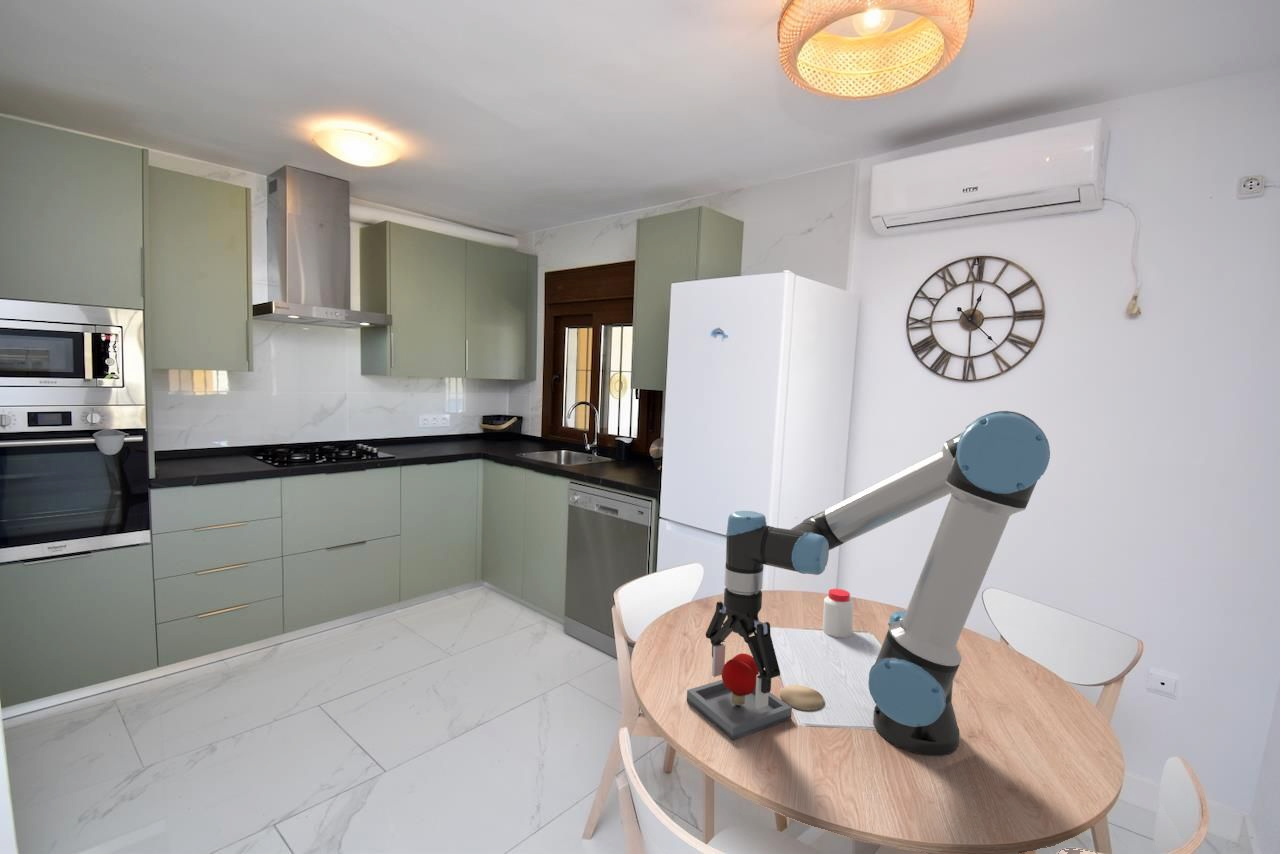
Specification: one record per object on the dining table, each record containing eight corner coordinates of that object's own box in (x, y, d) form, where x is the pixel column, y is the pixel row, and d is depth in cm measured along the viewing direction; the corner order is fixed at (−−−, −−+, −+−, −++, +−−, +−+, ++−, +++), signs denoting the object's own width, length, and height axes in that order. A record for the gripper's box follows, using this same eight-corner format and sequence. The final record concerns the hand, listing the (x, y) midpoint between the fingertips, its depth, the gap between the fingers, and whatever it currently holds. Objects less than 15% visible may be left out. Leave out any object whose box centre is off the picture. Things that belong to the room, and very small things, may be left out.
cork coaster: (832, 703, 122) (832, 701, 122) (802, 714, 118) (802, 712, 118) (801, 683, 130) (801, 681, 130) (771, 693, 126) (771, 691, 126)
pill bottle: (816, 628, 160) (818, 589, 159) (837, 623, 163) (839, 585, 163) (836, 639, 153) (838, 599, 152) (858, 635, 156) (860, 595, 156)
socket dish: (791, 718, 116) (791, 707, 116) (732, 740, 109) (733, 728, 109) (742, 683, 129) (742, 673, 129) (686, 701, 122) (687, 690, 121)
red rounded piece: (742, 721, 113) (746, 671, 113) (711, 708, 117) (715, 659, 117) (763, 703, 121) (767, 656, 120) (733, 691, 125) (736, 645, 124)
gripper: (802, 607, 108) (797, 716, 110) (719, 567, 130) (715, 659, 131) (772, 614, 104) (767, 727, 106) (692, 572, 126) (688, 667, 127)
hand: (738, 690), depth 119 cm, fingers open, 13 cm apart
